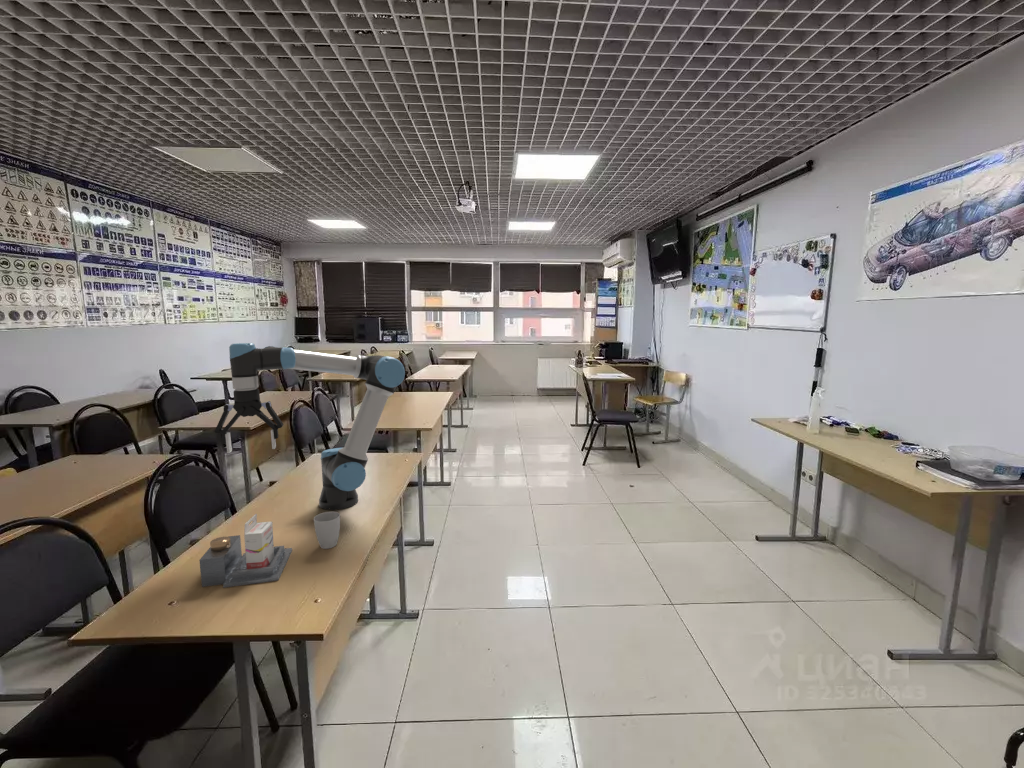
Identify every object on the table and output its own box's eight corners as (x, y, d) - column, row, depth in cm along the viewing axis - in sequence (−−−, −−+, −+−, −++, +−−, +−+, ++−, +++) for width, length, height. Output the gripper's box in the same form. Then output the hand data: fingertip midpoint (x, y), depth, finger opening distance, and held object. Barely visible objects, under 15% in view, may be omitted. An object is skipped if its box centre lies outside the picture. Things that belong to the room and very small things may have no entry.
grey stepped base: (292, 550, 146) (290, 521, 144) (278, 580, 128) (275, 547, 127) (222, 558, 141) (220, 528, 139) (198, 590, 123) (195, 556, 122)
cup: (346, 541, 152) (345, 513, 151) (329, 552, 144) (328, 523, 143) (327, 537, 155) (325, 510, 153) (309, 548, 147) (308, 519, 146)
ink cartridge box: (264, 571, 131) (260, 523, 130) (246, 572, 131) (242, 524, 129) (275, 556, 140) (272, 511, 138) (258, 557, 139) (255, 512, 137)
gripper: (288, 385, 158) (293, 443, 161) (207, 389, 151) (214, 450, 153) (285, 388, 151) (290, 449, 154) (199, 392, 143) (206, 456, 146)
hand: (252, 450), depth 154 cm, fingers open, 13 cm apart
